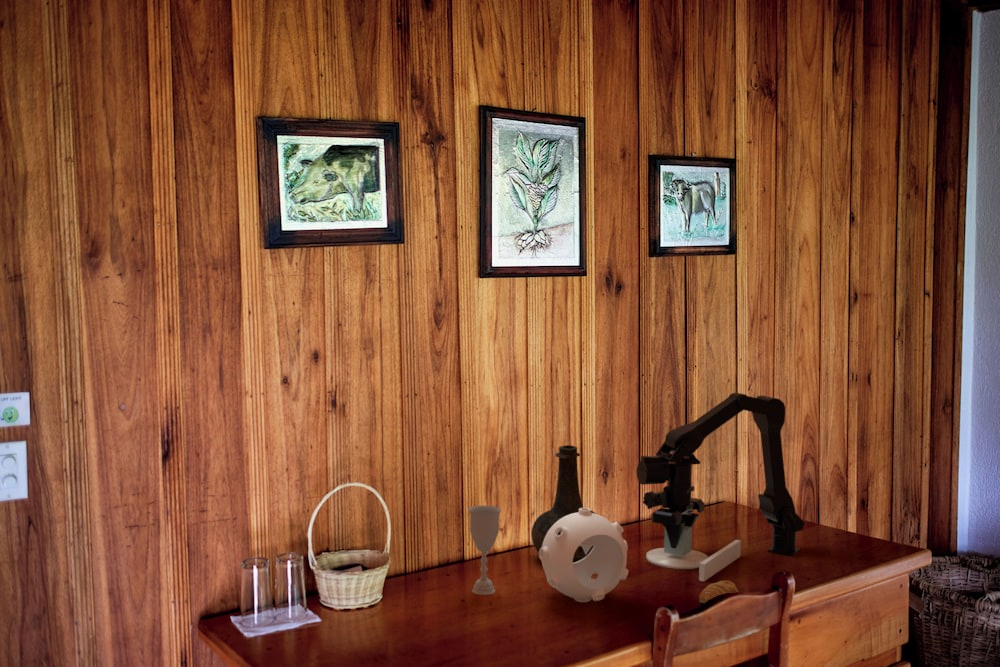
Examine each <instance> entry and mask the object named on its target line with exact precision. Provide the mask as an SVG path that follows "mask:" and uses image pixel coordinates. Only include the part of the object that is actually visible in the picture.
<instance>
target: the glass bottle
mask: <svg viewBox="0 0 1000 667" xmlns="http://www.w3.org/2000/svg"><path fill="white" fill-rule="evenodd" d="M580 455H581V454H580V453H579V452H578V447H577V446H575V445H571V444H569V445H568V444H567V445H561V446H558V452H556V453H555V457H556V458H558V471H557V473H558V474H557V482H556V484H557V485H556V490H555V491H556V492H555V498H554V501H553V502H554V503H553V506H552V507H551V509H550V510H547V511H544V512H543V513H541V514H540V515H539V516H538V517H537V518H536V519H535V521H534V523H533V525H532V528H531V541H532V544H533V546H534V548H535V550H536V551H537V553H538V554H539V550H540V548H542V544H543V541H544V538H545V536H546V534H547V532H548V531H549V529H550V528H551V527H552V526H553V525H554V524H555V523H556V522H557V521H558V520H559V519H561V518H563V517H564V516H567V515H569V514H572V513H577V512H579V509H580V508H584V506H583V503H582V498H581V494H580V487H579V486H580V485H579V476H578V474H579V472H578V457H580ZM591 513H594V514H597V513H596V512H595V511H593V510H592V509H591ZM558 535H561V531H560V532H559V533H558ZM558 535H557V536H558ZM592 548H593V546H592V547H591V548H590V550H589V551H588V553H587V554H586V555H585V552H584V550H583V548H582V546H578V548H577V549H576V551H575V554H574V557H573V563H574V562H577V561H579V560H581V559H583V558H585V557H586V556H587V555H588V554H589V553H590V552H591V550H592Z"/></svg>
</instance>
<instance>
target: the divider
mask: <svg viewBox="0 0 1000 667" xmlns="http://www.w3.org/2000/svg"><path fill="white" fill-rule="evenodd" d="M741 550H742V541H741V540H740V539H734V540H733V541H732V542H730V543H729V544H727V545H726V546H724V547H722V548H721V549H719V550H718V551H716V552H715V553H713V554H711V555H709V556H708V558H707V559H705V560H704V561H702V562H701V563H699V568H698V581H699V582H706V581H707V580H709V579H710V578H711V577H712V576H714V575H716V574H717V573H719V572H720V571H722V570H723V569H724V568H726V567H727V566H729V565H730V564H732V563H733V562H734V561H736V560H738V559H739V558H740V557H741V552H742V551H741Z"/></svg>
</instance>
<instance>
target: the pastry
mask: <svg viewBox="0 0 1000 667" xmlns="http://www.w3.org/2000/svg"><path fill="white" fill-rule="evenodd" d="M736 592H739V590H738V588H737V586H736V584H735V583H734V582H732V581H730V580H728V579H727V580H719V581H718V582H714V583H709V584H708V585H707V586H706V587H705V588H704V589H703V590H702V591H701V592H700V594H699V596H698V599H699V603H701V604H702V603H703V604H705V602H707V601H708V600H710V599H712V598H714V597H716V596H718V595H722V594H726V593H736Z"/></svg>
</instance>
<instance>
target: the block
mask: <svg viewBox="0 0 1000 667" xmlns="http://www.w3.org/2000/svg"><path fill="white" fill-rule="evenodd" d="M692 542H693V527H689V526H684V527H683V530H682V533H681V535H680V538H679V541H678V544H677V547H676V548H671V545H670V542H669V538H668V535H667V531H666V529H665V528H664V541H663V545H664V546H663V548H664V552H665V553H670V554H675V555H681V556H684V555H686V554H688V553H689V552H691V550H693V549H692V547H693V545H692Z"/></svg>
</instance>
